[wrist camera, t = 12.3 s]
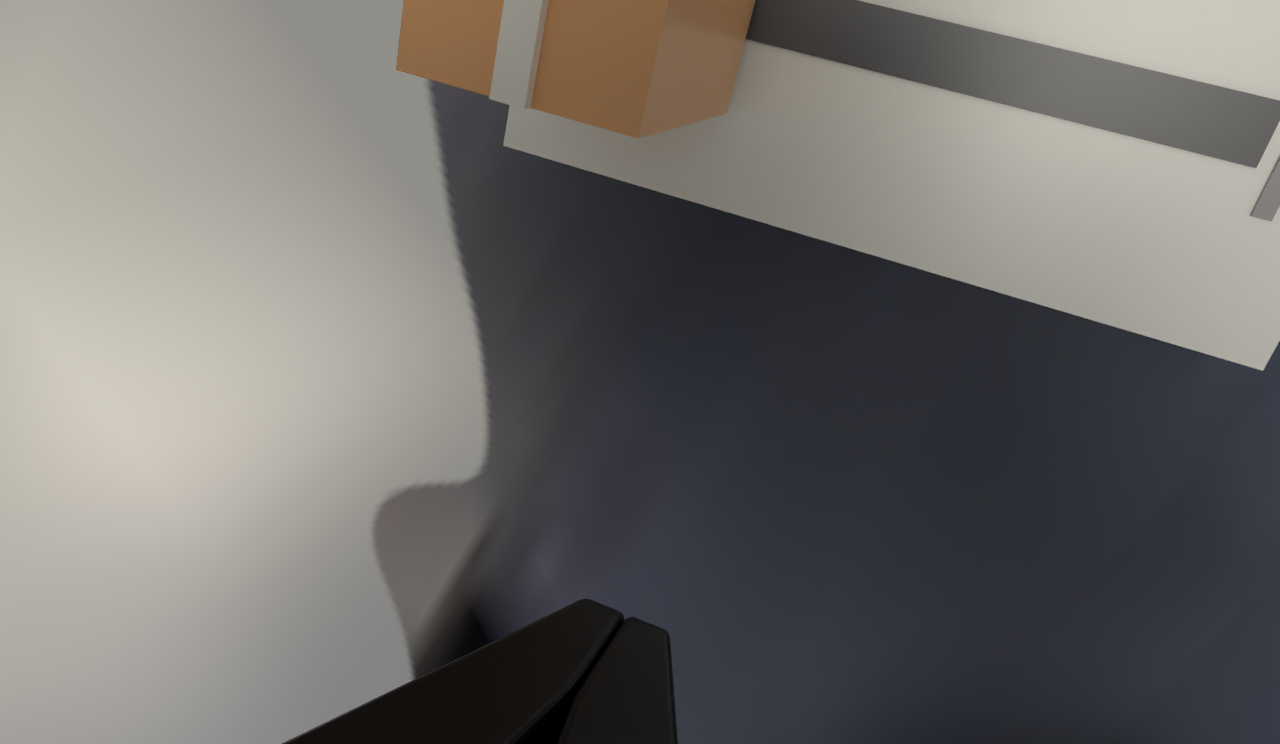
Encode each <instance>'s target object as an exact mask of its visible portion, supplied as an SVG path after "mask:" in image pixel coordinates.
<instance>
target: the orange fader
mask: <svg viewBox="0 0 1280 744" xmlns="http://www.w3.org/2000/svg"><path fill="white" fill-rule="evenodd" d="M754 4H755V0H404V3H403V12H402V21H401V30H400V39H399V50H398V57H397V67H396V70H399V71H402V72H406V73H409V74H413V75H416V76H420V77H423V78H427V79H430V80H434V81H437V82H441V83H444V84H448V85H451V86H455V87H458V88H462V89H465V90H469V91H472V92H476V93H479V94H483V95H487V96H490V97H489V99H491V100H494V101H498V102H501V103H505V104H508V105H512V106H515V107H519V108H522V109H528V108H532V109H536V110H539V111H543V112H546V113H550V114H553V115H557V116H560V117H564V118H567V119H571V120H574V121H578V122H581V123H585V124H588V125H592V126H595V127H599V128H602V129H606V130H609V131H613V132H617V133H620V134H624V135H627V136H631V137H634V138H638V139H639V138H642V137H646V136H649V135H653V134H656V133H660V132H663V131H667V130H670V129H674V128H677V127H681V126H684V125H688V124H691V123H695V122H698V121H702V120H706V119H709V118H713V117H716V116H720V115H723V114H727V110H728V106H729V102H730V98H731V94H732V90H733V86H734V82H735V78H736V75H737V71H738V67H739V63H740V59H741V55H742V51H743V47H744V43H745V39H746V35H747V31H748V27H749V23H750V19H751V16H752V12H753V8H754Z"/></svg>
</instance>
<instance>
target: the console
mask: <svg viewBox="0 0 1280 744" xmlns="http://www.w3.org/2000/svg"><path fill="white" fill-rule="evenodd" d="M503 146H506V147H509V148H513V149H516V150H519V151H523V152H526V153H529V154H533V155H536V156H540V157H543V158H546V159H550V160H553V161H556V162H560V163H563V164H567V165H570V166H573V167H577V168H580V169H583V170H587V171H590V172H594V173H597V174H600V175H604V176H607V177H610V178H614V179H617V180H621V181H624V182H627V183H631V184H634V185H637V186H641V187H644V188H648V189H651V190H654V191H658V192H661V193H664V194H668V195H671V196H675V197H678V198H681V199H685V200H688V201H692V202H695V203H698V204H702V205H705V206H708V207H712V208H715V209H719V210H722V211H725V212H729V213H732V214H735V215H739V216H742V217H746V218H749V219H752V220H756V221H759V222H762V223H766V224H769V225H773V226H776V227H779V228H783V229H786V230H789V231H793V232H796V233H800V234H803V235H806V236H810V237H813V238H816V239H820V240H823V241H827V242H830V243H833V244H837V245H840V246H843V247H847V248H850V249H854V250H857V251H860V252H864V253H867V254H870V255H874V256H877V257H881V258H884V259H887V260H891V261H894V262H897V263H901V264H904V265H908V266H911V267H914V268H918V269H921V270H924V271H928V272H931V273H935V274H938V275H941V276H945V277H948V278H951V279H955V280H958V281H962V282H965V283H968V284H972V285H975V286H978V287H982V288H985V289H989V290H992V291H995V292H999V293H1002V294H1005V295H1009V296H1012V297H1016V298H1019V299H1022V300H1026V301H1029V302H1032V303H1036V304H1039V305H1043V306H1046V307H1049V308H1053V309H1056V310H1059V311H1063V312H1066V313H1070V314H1073V315H1076V316H1080V317H1083V318H1086V319H1090V320H1093V321H1097V322H1100V323H1103V324H1107V325H1110V326H1113V327H1117V328H1120V329H1124V330H1127V331H1130V332H1134V333H1137V334H1140V335H1144V336H1147V337H1151V338H1154V339H1157V340H1161V341H1164V342H1168V343H1171V344H1174V345H1178V346H1181V347H1184V348H1188V349H1191V350H1195V351H1198V352H1201V353H1205V354H1208V355H1211V356H1215V357H1218V358H1222V359H1225V360H1228V361H1232V362H1235V363H1238V364H1242V365H1245V366H1249V367H1252V368H1255V369H1259V370H1262V371H1263V370H1264V368H1265V366H1266V364H1267V362H1268V361H1269V359H1270V357H1271V355H1272V353H1273V351H1274V350H1275V348H1276V346H1277V344H1278V342H1279V341H1280V0H755V4H754V8H753V12H752V16H751V19H750V23H749V27H748V31H747V35H746V39H745V43H744V47H743V51H742V55H741V59H740V63H739V67H738V71H737V75H736V78H735V82H734V86H733V90H732V94H731V98H730V102H729V106H728V110H727V114H723V115H720V116H716V117H713V118H709V119H706V120H702V121H698V122H695V123H691V124H688V125H684V126H681V127H677V128H674V129H670V130H667V131H663V132H660V133H656V134H653V135H649V136H646V137H642V138H639V139H638V138H634V137H631V136H627V135H624V134H620V133H617V132H613V131H609V130H606V129H602V128H599V127H595V126H592V125H588V124H585V123H581V122H578V121H574V120H571V119H567V118H564V117H560V116H557V115H553V114H550V113H546V112H543V111H539V110H536V109H532V108H528V109H522V108H519V107H515V106H512V105H510V106H509V112H508V119H507V125H506V131H505V138H504V144H503Z"/></svg>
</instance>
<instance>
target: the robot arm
mask: <svg viewBox="0 0 1280 744" xmlns="http://www.w3.org/2000/svg"><path fill="white" fill-rule="evenodd" d="M282 744H678V740H677V727H676V713H675V699H674V686H673V672H672V658H671V645H670V637H669V634H668V632H667V631H666V630H664V629H662V628H660V627H657V626H655V625H652V624H650V623H647V622H645V621H642V620H640V619H637V618H635V617H630V618H627V619H626V620H624V616H623V614H622V613H621V612H620V611H618V610H615V609H613V608H610V607H608V606H605V605H603V604H600V603H598V602H595V601H593V600H589V599H582V600H579V601H577V602H574V603H572V604H570V605H568V606H566V607H564V608H562V609H560V610H558V611H556V612H554V613H552V614H550V615H548V616H545V617H543V618H541V619H539V620H537V621H535V622H533V623H531V624H529V625H527V626H525V627H523V628H521V629H519V630H516V631H514V632H512V633H510V634H508V635H506V636H504V637H502V638H500V639H498V640H496V641H494V642H492V643H489V644H487V645H485V646H483V647H481V648H479V649H477V650H475V651H473V652H471V653H469V654H467V655H465V656H463V657H460V658H458V659H456V660H454V661H452V662H450V663H448V664H446V665H444V666H442V667H440V668H438V669H436V670H433V671H431V672H429V673H427V674H425V675H423V676H421V677H419V678H417V679H415V680H413V681H411V682H409V683H407V684H404V685H402V686H400V687H398V688H396V689H394V690H392V691H390V692H388V693H386V694H384V695H382V696H380V697H378V698H375V699H373V700H371V701H369V702H367V703H365V704H363V705H361V706H359V707H357V708H355V709H353V710H351V711H348V712H347V713H344V714H342V715H340V716H338V717H336V718H334V719H332V720H330V721H328V722H326V723H324V724H322V725H319V726H317V727H315V728H313V729H311V730H309V731H307V732H305V733H303V734H301V735H299V736H297V737H295V738H292V739H290V740H288V741H286V742H284V743H282Z"/></svg>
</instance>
